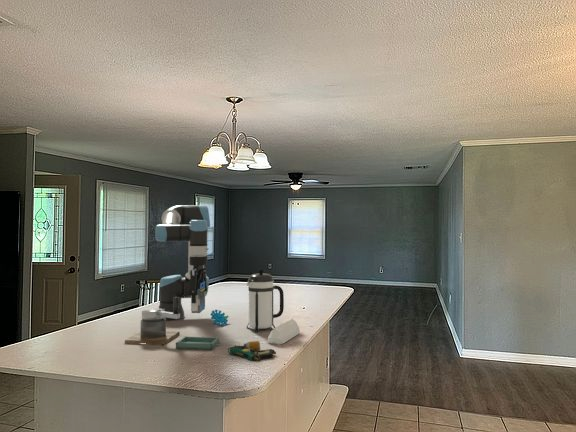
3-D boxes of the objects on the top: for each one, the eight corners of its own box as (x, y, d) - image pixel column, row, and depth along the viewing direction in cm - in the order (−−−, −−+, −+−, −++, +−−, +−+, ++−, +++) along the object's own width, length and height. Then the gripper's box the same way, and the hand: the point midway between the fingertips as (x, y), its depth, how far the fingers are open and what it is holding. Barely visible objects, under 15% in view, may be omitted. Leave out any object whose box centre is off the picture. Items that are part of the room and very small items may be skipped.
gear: (215, 324, 218) (209, 308, 224) (209, 331, 220) (203, 315, 226) (232, 324, 226) (226, 308, 231) (227, 331, 228) (220, 315, 234)
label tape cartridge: (196, 309, 190) (196, 280, 190) (205, 309, 190) (205, 280, 190) (191, 313, 181) (191, 283, 181) (200, 313, 181) (200, 283, 181)
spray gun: (279, 359, 169) (245, 368, 161) (258, 347, 183) (225, 354, 175) (279, 349, 169) (245, 356, 161) (258, 337, 183) (225, 343, 175)
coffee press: (271, 334, 205) (271, 270, 206) (240, 331, 211) (240, 269, 211) (284, 326, 221) (284, 267, 222) (255, 323, 227) (255, 266, 228)
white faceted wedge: (285, 337, 184) (304, 325, 207) (271, 327, 187) (292, 317, 209) (277, 351, 186) (297, 338, 208) (264, 341, 188) (285, 329, 210)
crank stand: (143, 333, 207) (143, 315, 207) (179, 334, 204) (179, 316, 205) (124, 343, 189) (124, 323, 189) (164, 344, 187) (164, 325, 187)
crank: (136, 320, 195) (137, 295, 195) (154, 316, 204) (154, 292, 204) (169, 325, 185) (170, 299, 185) (186, 321, 193) (186, 296, 194)
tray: (184, 342, 191) (184, 336, 191) (219, 343, 189) (219, 337, 189) (175, 348, 180) (175, 342, 181) (212, 350, 179) (212, 344, 179)
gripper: (198, 257, 174) (198, 313, 174) (214, 254, 196) (214, 304, 196) (180, 257, 175) (180, 313, 175) (198, 254, 197) (198, 303, 196)
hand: (198, 308), depth 185 cm, fingers closed on label tape cartridge, 9 cm apart
